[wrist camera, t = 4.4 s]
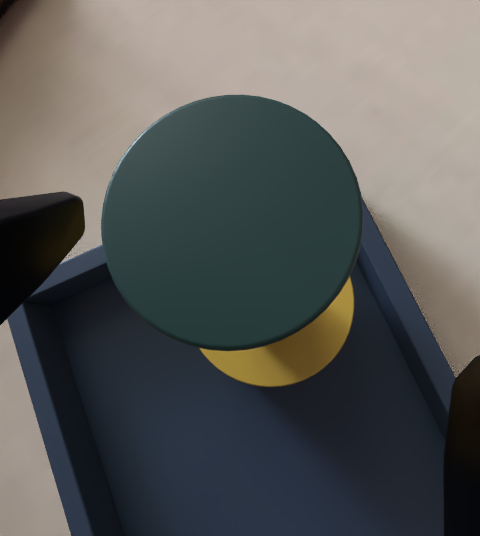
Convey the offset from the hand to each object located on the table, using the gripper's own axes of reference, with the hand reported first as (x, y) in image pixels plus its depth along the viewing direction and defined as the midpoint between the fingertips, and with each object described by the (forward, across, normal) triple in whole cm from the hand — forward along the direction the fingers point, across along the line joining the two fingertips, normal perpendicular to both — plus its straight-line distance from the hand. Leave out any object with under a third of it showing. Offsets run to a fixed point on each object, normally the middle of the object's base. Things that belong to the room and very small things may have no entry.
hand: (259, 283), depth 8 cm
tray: (+2, -2, +10) cm, 10 cm away
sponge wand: (+6, 0, +6) cm, 8 cm away
